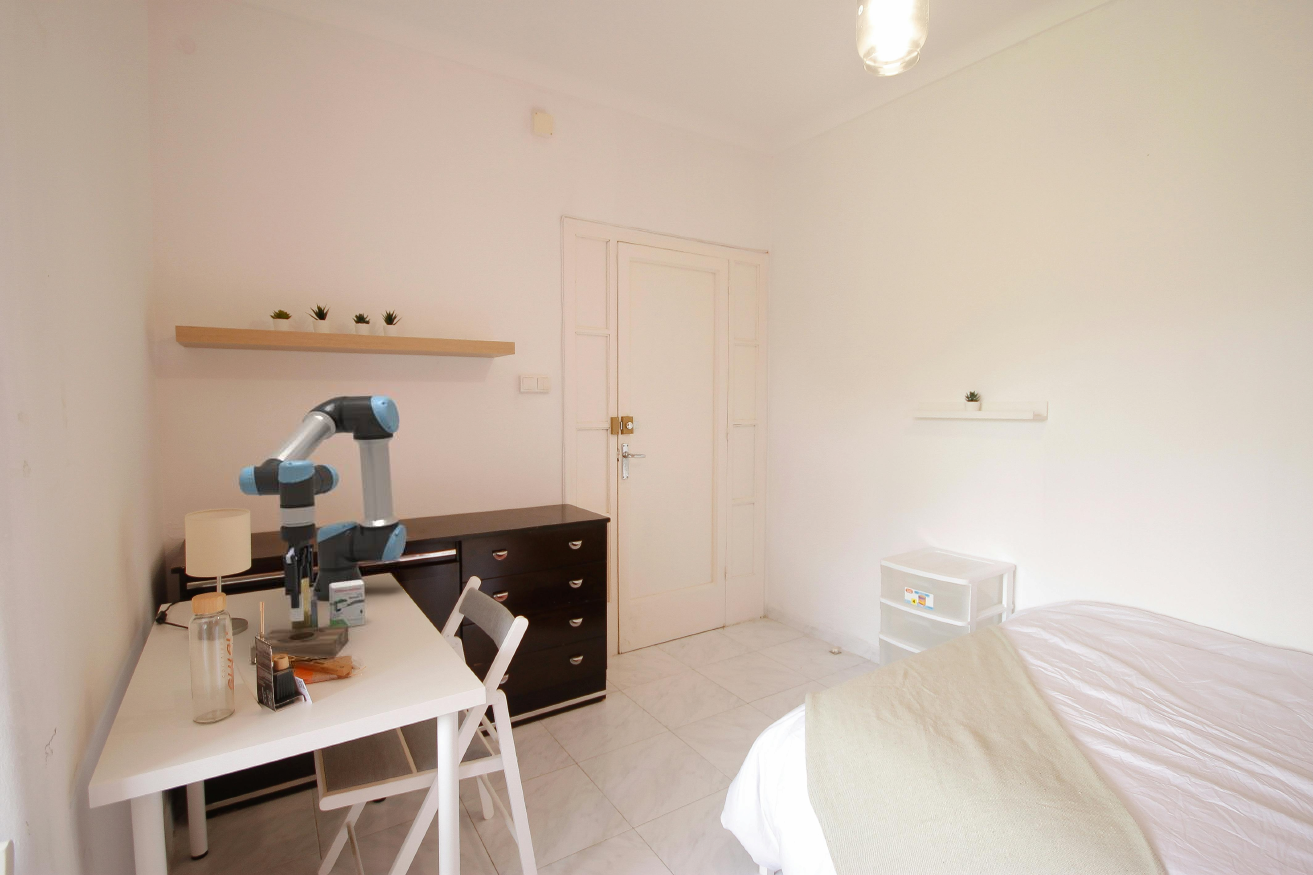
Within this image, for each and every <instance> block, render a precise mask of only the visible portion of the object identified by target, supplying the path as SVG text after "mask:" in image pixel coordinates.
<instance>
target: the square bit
mask: <svg viewBox="0 0 1313 875" xmlns="http://www.w3.org/2000/svg"><path fill="white" fill-rule="evenodd" d="M310 604H311V614H310V627H308V628H314V627H319V619H318V618H319V617H318V615H319V614H318V613H319V612H318V609H319V608H318V600H317V597H313V596H310Z"/></svg>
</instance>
